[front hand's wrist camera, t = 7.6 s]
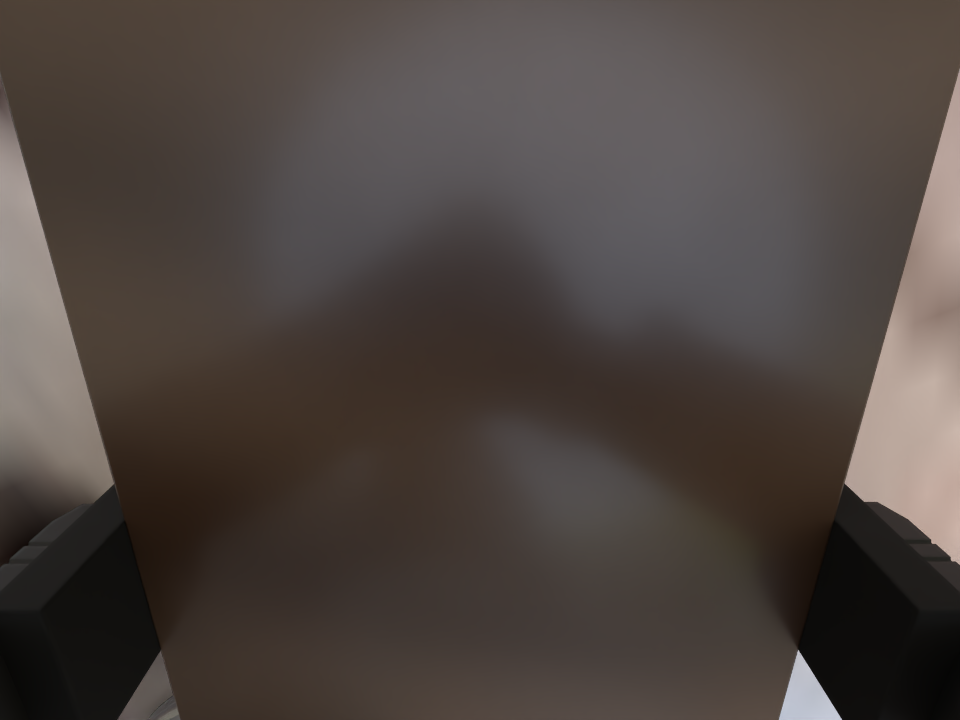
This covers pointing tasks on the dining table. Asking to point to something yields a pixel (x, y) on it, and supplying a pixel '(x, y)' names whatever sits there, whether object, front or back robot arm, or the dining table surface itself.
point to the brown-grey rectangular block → (479, 330)
